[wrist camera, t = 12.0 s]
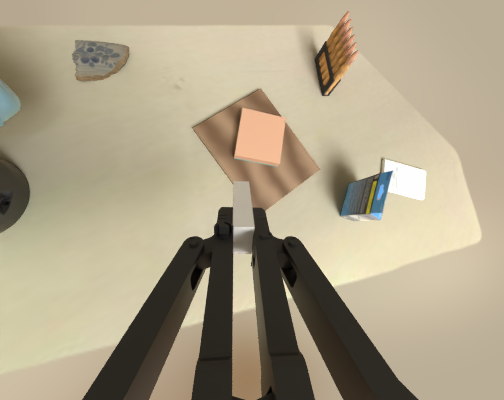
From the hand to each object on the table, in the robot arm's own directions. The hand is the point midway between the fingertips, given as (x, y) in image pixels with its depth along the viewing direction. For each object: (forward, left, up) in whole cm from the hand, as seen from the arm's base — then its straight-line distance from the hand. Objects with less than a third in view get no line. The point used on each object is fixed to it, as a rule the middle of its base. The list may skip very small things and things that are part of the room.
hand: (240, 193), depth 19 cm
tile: (+11, +5, -20) cm, 23 cm away
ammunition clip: (+40, +14, -23) cm, 48 cm away
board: (+13, +7, -22) cm, 27 cm away
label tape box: (+25, -16, -23) cm, 37 cm away
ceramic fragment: (-4, +42, -23) cm, 48 cm away
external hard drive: (+41, -20, -23) cm, 51 cm away
